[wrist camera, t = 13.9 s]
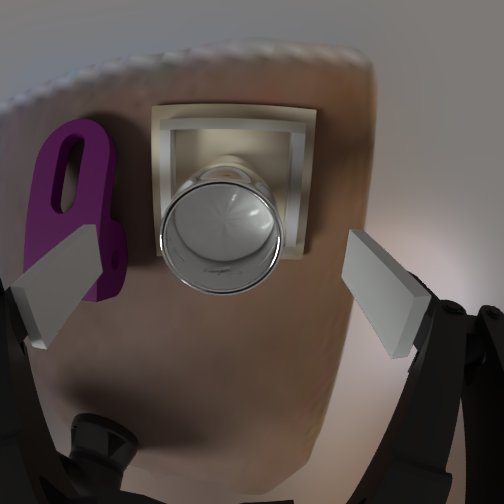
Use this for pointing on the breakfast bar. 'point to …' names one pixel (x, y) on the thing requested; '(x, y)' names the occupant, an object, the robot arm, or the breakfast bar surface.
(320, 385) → the breakfast bar surface
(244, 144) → the cup holder
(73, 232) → the robot arm
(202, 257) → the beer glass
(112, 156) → the mounting bracket
